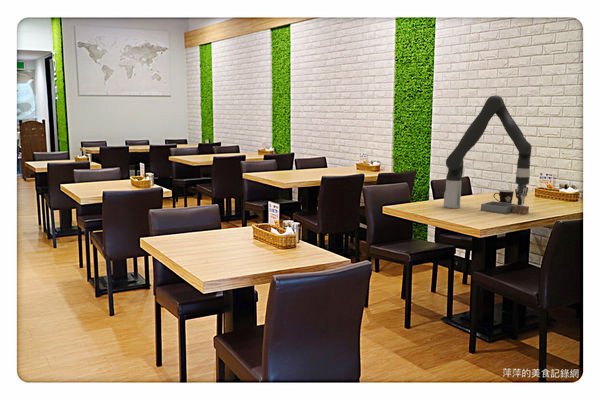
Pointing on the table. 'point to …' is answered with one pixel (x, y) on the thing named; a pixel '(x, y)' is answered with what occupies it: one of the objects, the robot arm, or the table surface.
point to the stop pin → (522, 202)
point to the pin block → (520, 209)
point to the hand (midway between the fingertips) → (520, 204)
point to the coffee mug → (505, 196)
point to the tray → (497, 207)
